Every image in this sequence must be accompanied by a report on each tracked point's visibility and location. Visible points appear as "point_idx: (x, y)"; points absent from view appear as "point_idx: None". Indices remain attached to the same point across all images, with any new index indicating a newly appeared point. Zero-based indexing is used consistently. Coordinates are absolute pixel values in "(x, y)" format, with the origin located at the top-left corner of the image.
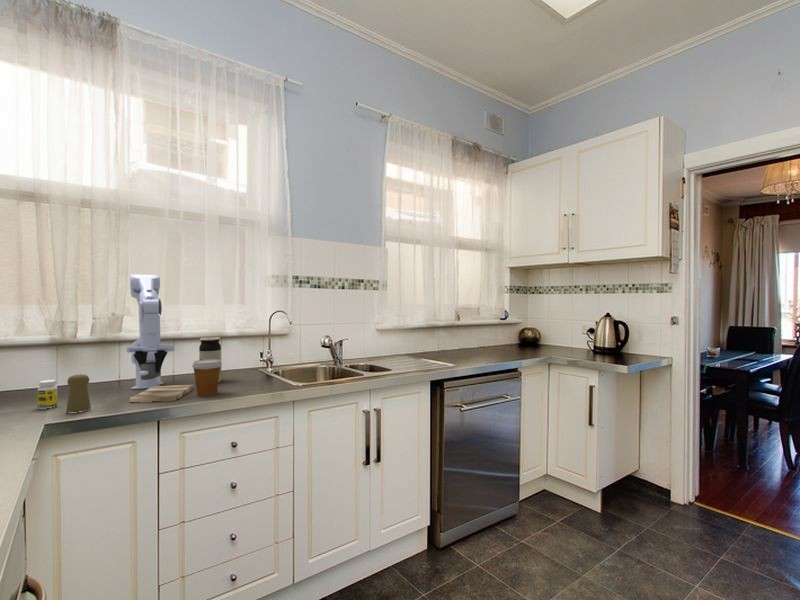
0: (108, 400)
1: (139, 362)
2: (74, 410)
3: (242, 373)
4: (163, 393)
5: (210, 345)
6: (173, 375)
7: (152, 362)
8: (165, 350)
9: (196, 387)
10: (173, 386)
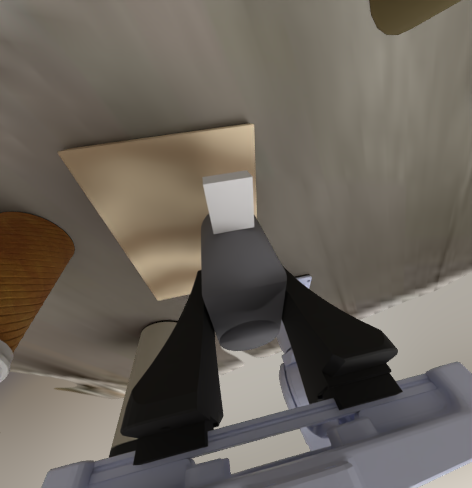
0: (333, 171)
1: (307, 296)
2: None
3: None
4: (166, 206)
5: None
6: (272, 347)
7: (245, 324)
8: (133, 463)
9: (33, 241)
10: None
